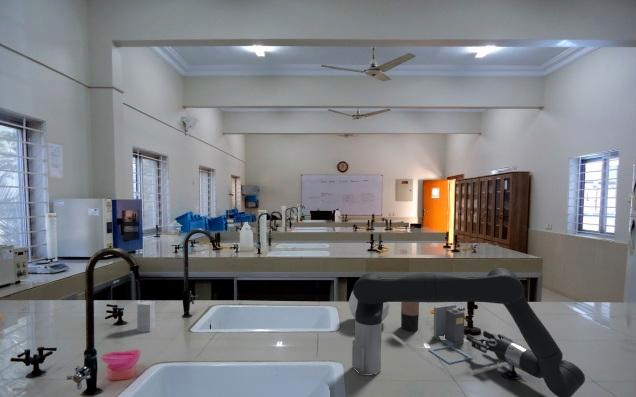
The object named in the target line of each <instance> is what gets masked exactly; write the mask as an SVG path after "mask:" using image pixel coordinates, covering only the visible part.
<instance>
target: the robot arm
mask: <svg viewBox="0 0 636 397" xmlns="http://www.w3.org/2000/svg"><path fill="white" fill-rule="evenodd" d="M352 292H353V294H354V296H355V298H356V299H357V300H358V303H357V309H356V312H355V317H354V321H355V322H354V325H355V326H354V340H352V343H351V344H352V346H351V347H352V348H351V350H352V351H351V352H352V353H351V358H352V359H351V366H353V367H354V368H355V369H356V370H357V371H358V372H359V373H360V374H375V373H378V372H379V371H380V369H382V366H381V365H382V326H383V325H382V324H383V321H382V313H383V303H385V302H390V303H392V302H393V303H394V302H395V303H396V302H397V303H398V302H399V303H400V302H419V303H463V302H465V303H466V302H467V303H468V302H476V303H477V302H478V303H479V302H480V303H487V304H488V303H489V304H490V303H491V304H500V305H501V304H502V305H503V306H504V307H505V308H506V310H507V311H508V312H509V315H510V316H511V317H512V320H513V321H514V323H515V325H516V326H517V328H518V330H519V332H520V334H521V335H522V337H523V339H524V341H525V343H526V344H527V346H528V347H529V348H527V347H526V346H523V345H521V344H519V343H518V342H515V341H513V340H512V339H511V338H508V337H506V336H505V335H504V334H500V333H498V334H495V333H491V332H488V331H486V330H484V331H483V333H482V335H483V337H481V338H478V337H475V336H473V335H471V334H469V333H467V334H466V338H465V339H467V340H468V341H469V343H471V344H470V345H471V348H474V349H476V350H478V351H479V352H482V353H483V354H487V352H488V351H490V352H493V353H494V354H495V357H497V358H498V359H499V360H501V361H503V362H505V363H506V364H508V365H510V364H509V363H508V360H509V359H510V360H511V361H512V363H513V365H514V367H513V368H515V369H518V370H520V371H522V372H525V373H526V374H529V375H530V376H532V377H534V378H535V379H536V378H537V379H543V380H544V383H545V385H546V387H547V388H548V390H549V391H550V392H551V393H552V394H553V395H555V396H556V397H572V396H573V395H575V393H576V392H577V391H578V390H579V389H580V388H581V387H582V386H583V385H584V383H585V382H586V377H585V376H586V375H585V374H584V372H583V371H582V369H581V368H579V367H578V366H577V365H576V364H574V363H572V362H570V361H568V360H565V359H563V356H564V355H563V352H562V350H561V349H560V347H559V345H558V343H557V342H556V341H555V339H554V338H553V336H552V335H551V333H550V332H549V330H548V329H547V328H546V326H545V325H544V323H542V321H541V320H540V318H539V317H538V315H537V314H536V313H535V312H534V310H533V308H532V307H531V306H530V304H529V302H528V301H527V299H526V297H525V295H524V293H525V290H524V286H523V283H522V282H521V280H520V278H519V277H518V276H517V275H516V274H515V273H514V272H513V271H511V269H510V270H509V269H507V268H504V267H496V268H493V269H492V270H490V271H489V272H488V274H487V276H481V277H480V276H479V277H466V276H459V275H455V274H450V273H441V272H431V273H429V272H427V273H425V272H424V273H417V274H413V275H412V274H411V275H407V276H404V277H399V278H396V279H384V278H383V279H381V277H380V276H379V275H377V274H376V273H372V272H367V273H364V274H362V275H361V276H360V277H359V278H358V280H356V282H355V283H354V285H353V287H352ZM484 342H485V343H484ZM507 347H511V348H513V350H512V349H509V348H507ZM353 367H352V368H353ZM354 368H353V369H354ZM355 369H354V370H355ZM356 370H355V371H356ZM357 371H356V372H357ZM358 372H357V373H358ZM380 372H381V371H380ZM380 372H379V373H380ZM359 373H358V374H359ZM379 373H378V374H379ZM360 374H359V375H360Z"/></svg>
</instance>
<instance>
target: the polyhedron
mask: <svg viewBox="0 0 636 397" xmlns="http://www.w3.org/2000/svg"><path fill="white" fill-rule="evenodd" d="M357 303H358V300H357V299H356V298H355V296H354V294H353V291H351V294H350V296H349V299H348V302H347V304H348V306H349V309H350V312H351V315H352V316H353V318H355V312H356V309H357ZM390 308H391V302H385V303H383V313H382V322H383V321H385V319H386V318H387V317H388V315H389V313H390Z"/></svg>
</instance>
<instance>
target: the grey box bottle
mask: <svg viewBox="0 0 636 397" xmlns="http://www.w3.org/2000/svg"><path fill="white" fill-rule="evenodd" d="M465 313H466V312H464V311H462V310H459V308H457V307H456V308H453V309H450V310H446V334H445V339H447V340H449V341H450V342H452V343H454V344H455V343H459V344H461V343H460V342H464V338H465ZM464 343H465V342H464ZM455 345H456V344H455Z"/></svg>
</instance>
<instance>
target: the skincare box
mask: <svg viewBox="0 0 636 397" xmlns="http://www.w3.org/2000/svg"><path fill="white" fill-rule="evenodd" d="M136 308H137V309H136V310H137V312H136V313H137V318H136V319H137V321H136V322H137V323H136V325H137V326H136V328H137V332H145V333H146V332H147V333H151V332H152V331H153V330H155V329H156V301H143V300H142V301H141V302H139V303H137V305H136Z"/></svg>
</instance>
